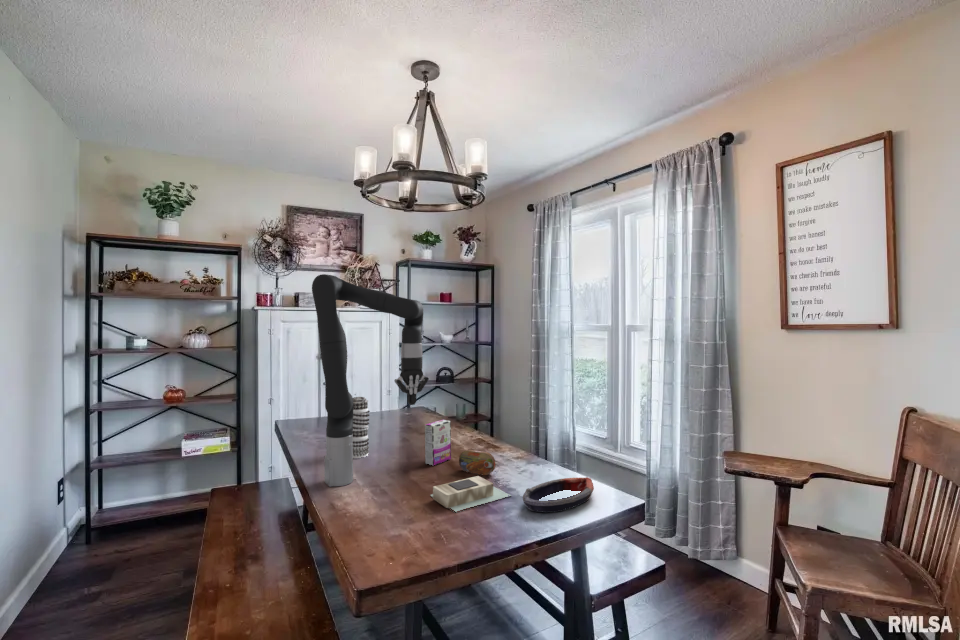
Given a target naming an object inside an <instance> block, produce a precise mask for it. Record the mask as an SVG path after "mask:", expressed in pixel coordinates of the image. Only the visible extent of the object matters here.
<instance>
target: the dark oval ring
mask: <svg viewBox="0 0 960 640" xmlns="http://www.w3.org/2000/svg"><path fill="white" fill-rule="evenodd" d="M594 489H595V487H594V483H593V479H592V478H591V477H587V476H586V477H567V478H558V479H553V480H550V481H545V482H542V483H540V484H537V485H535V486H532V487H529V488H526V489H525V491H524V493H523V495H522V500H523V503H524V505H525V506H526V508H527V509H529V510H530V511H532V512H537V513H555V512H562V511H565V509H566V510H569V508H570V509H572V507H573V508H575V507H577V506H579V505H582V504H583V503H585V502H587V501H588V500H589V499H590V498H591V496H592V494H593V492H594ZM563 490H571V491H581V492H580V493H578V494H576V495H573V496H570V497H567V498H562V499H557V500H548V501H539V499H541V498H542V497H545V496H547V495H550V494H553V493H556V492H559V491H563ZM561 510H562V511H561ZM554 511H555V512H554Z"/></svg>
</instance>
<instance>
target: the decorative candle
mask: <svg viewBox="0 0 960 640" xmlns="http://www.w3.org/2000/svg"><path fill="white" fill-rule="evenodd" d="M368 402H369V400H368V399H367V398H366V397H365V396H355V397H353V459H362V458H361V457H364V458H367V457H368V456H369V455H368V454H370V453H369V452H370V450H369V448H370V446H369V443H370V442H369V440H370V439H369V434H368V433H369V432H368V429H369V425H370V422H369V421H370V418H368V417H370V414H369V413H370V412H371V411H370V410H369V407H368V406H369V405H368ZM366 456H367V457H366Z"/></svg>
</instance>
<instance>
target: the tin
mask: <svg viewBox="0 0 960 640" xmlns="http://www.w3.org/2000/svg"><path fill="white" fill-rule="evenodd" d="M458 464H459V467H460V468H461V470H462V471H463V472H465V471H467V472H466V473H468V472H472V473H471V474H474V473H478V474H477V475H480V474H483V475H482V476H488V475H491V473H493V472H494V470H495V468H496V460H495V457H494V455H492V453H490V452H486V451H482V450H481V451H479V450H474V449H473V450H472V449H468V450H464V451H462V452H461V453H460V455H459V457H458Z"/></svg>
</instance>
